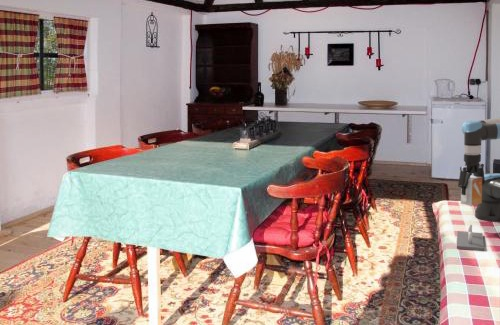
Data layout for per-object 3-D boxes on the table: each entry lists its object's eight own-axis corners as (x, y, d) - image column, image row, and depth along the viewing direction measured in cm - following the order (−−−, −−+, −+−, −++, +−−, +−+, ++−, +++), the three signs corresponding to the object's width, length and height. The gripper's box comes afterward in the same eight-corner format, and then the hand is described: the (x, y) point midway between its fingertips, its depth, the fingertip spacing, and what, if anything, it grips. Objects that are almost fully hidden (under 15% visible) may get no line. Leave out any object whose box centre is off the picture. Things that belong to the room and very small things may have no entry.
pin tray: (457, 233, 262) (457, 221, 261) (482, 235, 258) (482, 222, 257) (456, 248, 242) (457, 235, 241) (483, 250, 238) (484, 237, 237)
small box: (471, 206, 262) (472, 179, 259) (460, 203, 267) (460, 177, 265) (482, 203, 266) (482, 176, 264) (470, 200, 271) (471, 174, 269)
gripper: (481, 150, 270) (479, 194, 274) (450, 155, 260) (449, 201, 265) (494, 151, 264) (492, 197, 268) (463, 157, 254) (462, 204, 258)
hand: (471, 199), depth 266 cm, fingers closed on small box, 8 cm apart
